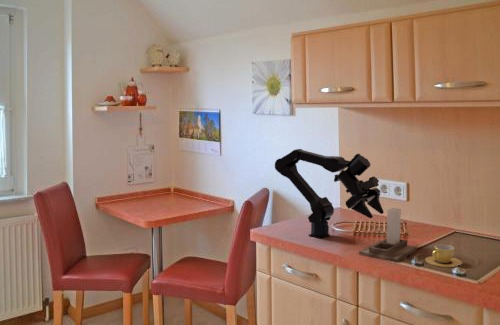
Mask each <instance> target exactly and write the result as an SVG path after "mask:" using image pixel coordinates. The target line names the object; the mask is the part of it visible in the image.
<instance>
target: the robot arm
mask: <svg viewBox="0 0 500 325" xmlns="http://www.w3.org/2000/svg"><path fill="white" fill-rule="evenodd" d="M300 161H302V162H305V163H306V162H307V163H311V164H313V165H317V166H320V167H322V168H323V169H324V170H326V171H328V172H330V173H337V174H334V179H333V181H334V183H337V182H339V181H340V182H341V184H342V185H343V186H344V187H345V189H346V190H345V192H346V194H348V193H349V194H350V195H351V196H350V197H349V198H348V199H347V200H346V201H345V207H346V208H347V209H351V210H352V211H355V212H356V213H359V214H361V215H363V216H365V217H367V218H369V219H373V214H372V213H371V211H370V209H369V208H368V207H367V205H368V206H369V207H370V208H372V209H373V210H374V211H376V212H377V213H379V214H380V215H383V214H384V209H383V207H382V204H381V202H380V196H381V193H382V191H381V190H380V189H379V188H378V187H379V182H380V180H379V179H378V177H376V176H375V175H374V176H371V177H368V180H365V181H364V180H363V179H361V180H359V179H358V177H360V176H362V174H363V173H365V172H366V171H367V170H368V169H369V168H370V167H371V163H370V160H368V158H366V157H364V156H363V155H361V153H356V154H355V155H354V156H353V158H352V159H351V160H346V159H345V158H344V157H342V156H337V155H336V156H334V155H332V156H331V155H322V154H318V153H315V152H310V151H309V150H303V149H302V148H298V149H293V150H292V151H290V152H289V153H287V154H286V155H283V157H281V158H277V159H276V160H275V162H274V168H275V171H276V172H277V173H279V174H280V175H281V176H283V177H285V178H287V180H289V181H290V182H291V184H292V185H293V186H294V187H295V188H296V189H297V190H298V191H299V193H300V194H301V195H302V196H303V197H304V199H305V200H306V201H307V202H308V204H309V206H310V210H311V212H312V213H311V214H310V215H309V216H308V217H307V218H308V222H309V223H311V225H310V227H311V228H310V229H311V230H310V232H311V233H309V234H308V237H313V238H316V239H324V238H327V237H331V234H330V232H329V230H330V228H329V221H330V220H331V217H332V216H333V215H334V212H335V211H334V210H335V207H334V206H333V202H330V200H329V198H328V197H327V196H325V197H320V196H319V195H318V194H317V192H316V191H315V190H314V189H313V188H312V186H311V185H310V184H309V183H308V182H307V181H306V180H305V179H304V177H303V176H302V175H301V173H299V171H298V168H297V164H298V163H299V162H300ZM338 172H339V173H338ZM366 204H367V205H366Z"/></svg>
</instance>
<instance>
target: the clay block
mask: <svg viewBox="0 0 500 325" xmlns="http://www.w3.org/2000/svg"><path fill="white" fill-rule="evenodd" d="M401 211H402V209H401V208H396V207H393V208H390V209H387V211H386V212H387V214H386V215H387V216H386V239H387V243H389V244H395V245H396V244H398V243H400V239H401V217H402V216H401Z"/></svg>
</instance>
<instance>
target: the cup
mask: <svg viewBox="0 0 500 325" xmlns="http://www.w3.org/2000/svg"><path fill="white" fill-rule="evenodd" d="M433 247H434V248H433V249H434V250H433V251H432V253H431V254H432V255H431V256H427V257H425V258H424V261H425V262H426V263H428V264H430V265H432V266H437V267H443V268H444V267H445V268H454V267H455V266H456V265H457V264H462V265H463V262H462V261H461V260H460V259H458V258H456V257H454V255H455V254H454V253H455V247H454V246H452V245H448V244H435V245H434V246H433ZM436 260H437V261H438V262H439V263H438V262H435V261H436ZM450 262H451V263H450ZM448 263H449V264H448ZM455 268H456V267H455Z"/></svg>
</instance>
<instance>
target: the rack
mask: <svg viewBox="0 0 500 325" xmlns="http://www.w3.org/2000/svg"><path fill="white" fill-rule="evenodd" d="M417 250H418V247H417V246H413V245H408V240H406V239H401V238H400V243H398V244H396V245H395V244H389V243H387V238H384V239H383V240H379V241H378V242H375V243H374V244H372V245H370V246H368V247H365V248H363V249H362V250H359V254H358V255H360V256H365V257H369V258H375V259H380V260H383V259H384V261H388V260H390V261H389V262H393V261H395V262H394V263H397V262H399V261H401V260H402V259H404V258H406V257H408V256H409V255H411V254H413V253H414V252H416V251H417Z"/></svg>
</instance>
